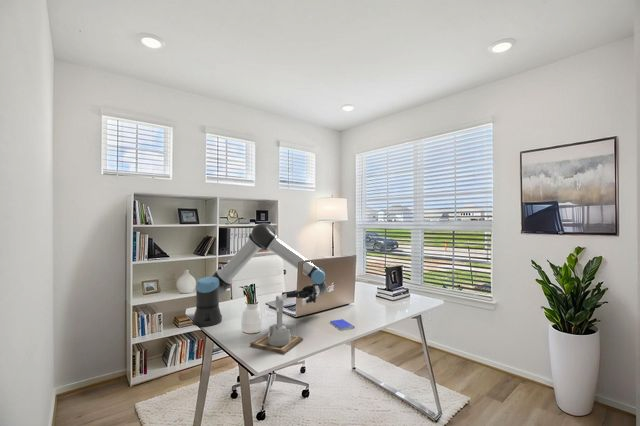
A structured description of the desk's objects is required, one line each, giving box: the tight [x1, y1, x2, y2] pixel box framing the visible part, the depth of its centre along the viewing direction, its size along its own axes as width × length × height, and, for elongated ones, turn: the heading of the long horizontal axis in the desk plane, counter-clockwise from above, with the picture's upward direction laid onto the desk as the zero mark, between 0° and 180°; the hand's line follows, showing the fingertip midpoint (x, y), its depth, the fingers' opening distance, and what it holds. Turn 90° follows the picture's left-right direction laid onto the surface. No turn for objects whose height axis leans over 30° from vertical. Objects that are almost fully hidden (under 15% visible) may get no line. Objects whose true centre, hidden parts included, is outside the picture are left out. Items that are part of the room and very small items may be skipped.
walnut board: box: [249, 332, 304, 355], centre depth 140 cm, size 18×16×1 cm
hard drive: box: [329, 318, 356, 331], centre depth 164 cm, size 2×8×12 cm
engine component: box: [268, 294, 291, 346], centre depth 140 cm, size 11×20×10 cm
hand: (290, 300), depth 154 cm, fingers open, 13 cm apart
